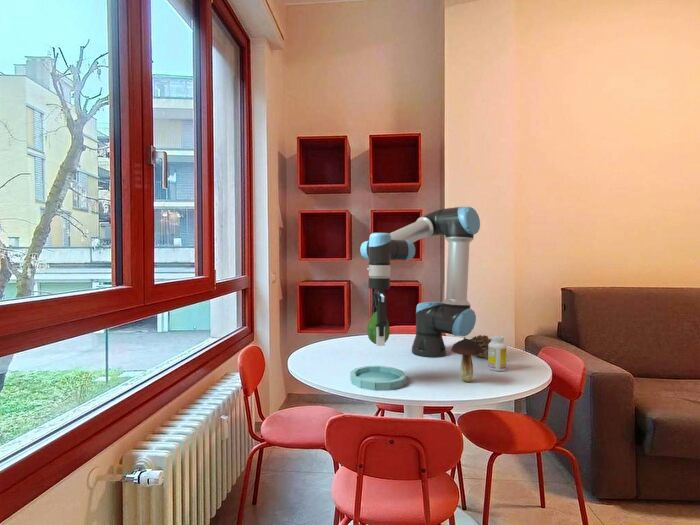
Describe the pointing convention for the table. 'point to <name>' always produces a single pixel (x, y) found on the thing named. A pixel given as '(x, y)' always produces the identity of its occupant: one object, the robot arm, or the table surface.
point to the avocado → (373, 329)
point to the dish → (378, 377)
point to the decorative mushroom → (466, 356)
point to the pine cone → (482, 344)
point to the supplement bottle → (497, 354)
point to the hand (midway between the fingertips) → (378, 342)
